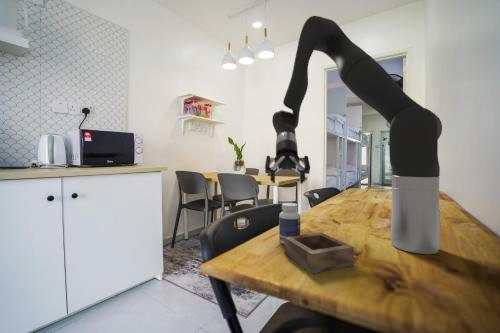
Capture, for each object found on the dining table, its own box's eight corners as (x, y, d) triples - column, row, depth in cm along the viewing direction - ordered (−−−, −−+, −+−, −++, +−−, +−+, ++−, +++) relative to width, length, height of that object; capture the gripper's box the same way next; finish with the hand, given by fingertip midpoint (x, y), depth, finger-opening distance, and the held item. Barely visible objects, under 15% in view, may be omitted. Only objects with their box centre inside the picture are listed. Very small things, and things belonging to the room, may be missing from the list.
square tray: (320, 247, 54) (320, 232, 54) (353, 264, 45) (353, 246, 45) (284, 253, 51) (284, 237, 51) (311, 273, 42) (311, 254, 41)
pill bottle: (302, 245, 56) (302, 206, 55) (280, 245, 56) (280, 206, 55) (298, 238, 61) (298, 202, 61) (278, 238, 61) (278, 202, 61)
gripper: (266, 138, 79) (264, 173, 68) (307, 138, 77) (313, 173, 66) (266, 154, 84) (265, 189, 73) (305, 154, 82) (310, 189, 71)
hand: (287, 181), depth 69 cm, fingers open, 8 cm apart
